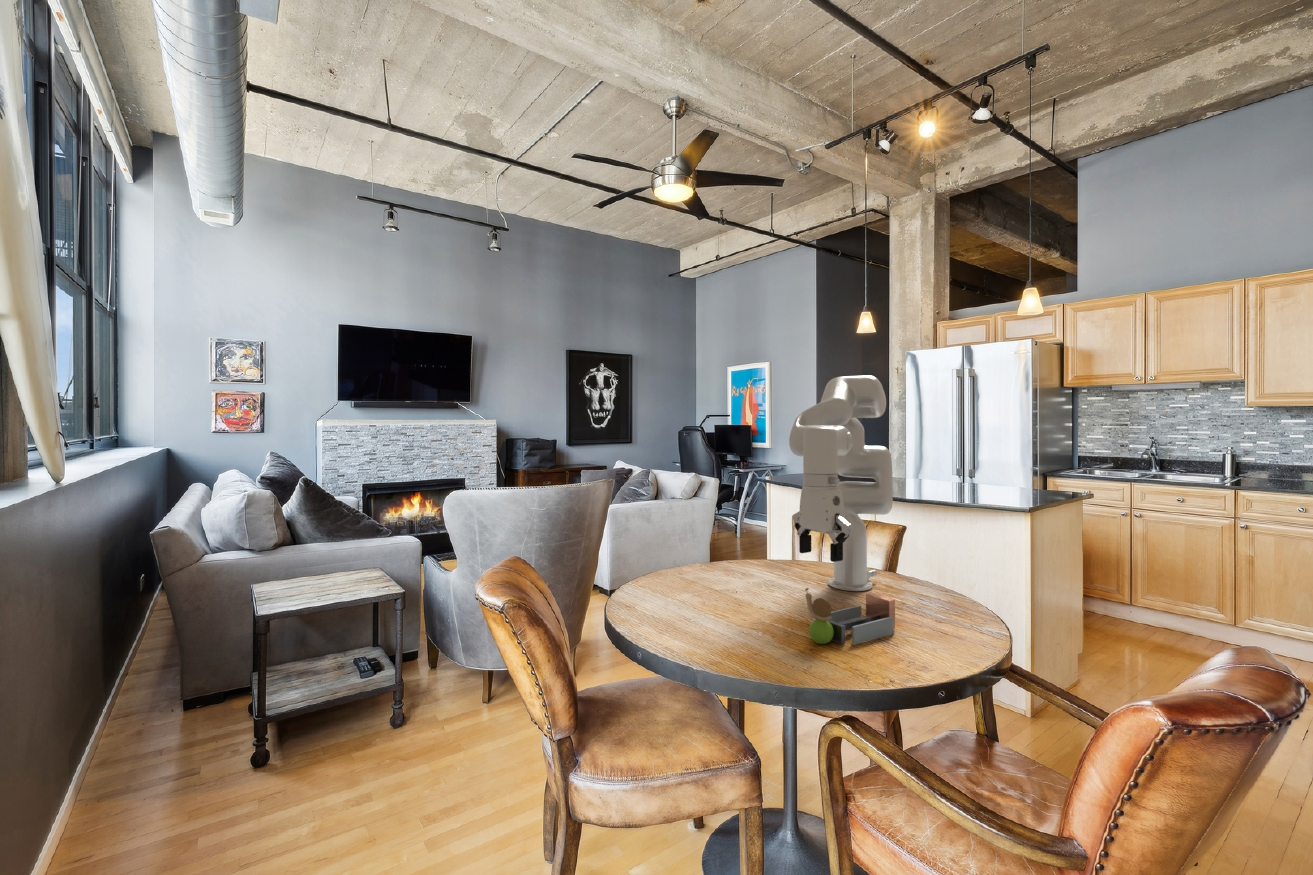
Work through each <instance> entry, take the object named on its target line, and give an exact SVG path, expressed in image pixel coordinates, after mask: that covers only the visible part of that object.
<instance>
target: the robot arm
mask: <svg viewBox="0 0 1313 875" xmlns="http://www.w3.org/2000/svg"><path fill="white" fill-rule="evenodd" d="M886 397H887V396H886V394H885V390H884V387H883V384H882V382H881V381H880V379H878V378H877V377H875V376H874V375H869V374H868V375H847V376H837V377H833V378H832V379H830V380H829V381H828V382H827V384H826V385H825V388H824V391H823V393H822V397H821V399H820V402H819V403H816V404H814V405H812V406H811V407H809V408H807V409H804V410H803V411H802V412H801V413H799V414H798V415H797V417H796V418H795V420H794V422H793V425H792V427H791V430H790V433H789V438H788V440H789V441H788V442H789V443H788V444H789V448H790V451H791V453H792V454H794V455H796V456H797V457H803V458H802V460H803V461H802V462H803V464H802V466H803V470H802V471H803V476H802V477H803V479H802V480H803V481H802V485H803V486H801V492H800V500H799V511H798V512H796V513H794V514H792V520H793V524H794V528H795V529H796V531H797V532H796V533H797V536H798V538H799V539H798V540H799V542H798V543H799V544H798V546H799V547H798V548H799V553H800V554H806V553H811V552H812V534H810V533H811V532H812V531H813V532H817V533H822V534H826V535H828V537H829V538H830V541H831V543H830V545H829V546H830V547H829V548H830V550H829V551H830V556H829V559H830V561H831V562H833V577H831V578H829V579H828V585H829V586H830V587H832V588H834V589H837V590H841V591H848V592H864V591H868V590H871V589H872V588H873V582H872V581H871V580H870V578H872V577H877V575H878V572H877V570H876V569H872V570H869V569H868V531H867V526H866V524H865V523H864V521H863V520H862V518H861V517H860V516H859V515H862V514H863V515H877V516H878V515H881V516H883V515H888V514H890V513H891V511H892V508H893V502H894V501H893V497H894V496H893V495H894V492H893V489H894V488H893V458H892V454H891V452H890V450H889V449H888V448H887V446H883V445H866V442H865V428H864V425H863V424H862V423H861V421H860V419H863V418H865V419H869V418H870V419H875V418H876V419H877V418H880V417H882V416H884V413H885V412H886V409H887V398H886ZM838 476H842V477H846V478H863V479H864V478H865V479H866V478H867V479H873V480H875V481H873V482H872V481H859V480H858V481H852V480H851V481H849V480H845V481H841V480H840V478H839V477H838Z"/></svg>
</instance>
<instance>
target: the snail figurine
mask: <svg viewBox="0 0 1313 875" xmlns="http://www.w3.org/2000/svg"><path fill="white" fill-rule="evenodd" d="M809 590H810V589H809V587H806V588H805V590H804V591H805V592H806V593H805V599H806V603H807V604H806V605H807V609H808V611H809V613H810V615H811V617H813V618H815V619H814V620H812V622H810V624H809V627H808V633H809V637H810V638H811V640H812V641H813V642H815V643H817V644H820V645H825V644H828V643H829V642H831V641H832V640H831V639H832V638H833V635H834V630H833V627H832V625H831V624H830V623H829V622H828V621H829V620H830V619H832V617H831V616H829V615H830V614H831V612H833V607H832V604H831V602H830V601H829V600H828V599H826V598H824V597H818V598H816V599H814V601H812V594H811V593H810V592H808V591H809Z"/></svg>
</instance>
